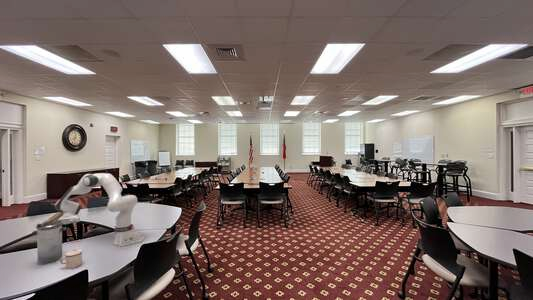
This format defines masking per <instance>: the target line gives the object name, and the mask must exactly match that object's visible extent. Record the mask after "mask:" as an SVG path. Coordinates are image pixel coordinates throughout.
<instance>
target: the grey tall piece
mask: <svg viewBox="0 0 533 300" xmlns="http://www.w3.org/2000/svg"><path fill="white" fill-rule="evenodd" d="M47 220H48V219H46V220H45V221H47ZM45 221H43V222H42V223H37V224H36V226H35V229H36V230H34V231H32V233H31V234H32V235H36V240H37V241H36V243H37V250H36V251H37V265H40V266H43V265H50V264H53V263H56V262H58V261H59V262H60V259H61V258H62V257H63V232H64V231H66V230H67V226H63V225H64V224H63V222H62V221H57V219H55V220H54V221H52V222H51V226H45ZM61 260H62V259H61Z"/></svg>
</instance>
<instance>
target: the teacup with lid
mask: <svg viewBox="0 0 533 300" xmlns="http://www.w3.org/2000/svg"><path fill="white" fill-rule="evenodd" d="M64 255H65V256H62V258H61V259H60V260H59V263H60V265H65V268H66V269H74V268H78V267H80V266H81V265H82V264H83V250H82V249H80V248H79V249H77V248H75V247H74V248H72V250H70V251H68V252H66V253H65V254H64ZM63 259H65V262H63V261H62V260H63Z"/></svg>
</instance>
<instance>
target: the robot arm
mask: <svg viewBox="0 0 533 300" xmlns="http://www.w3.org/2000/svg"><path fill="white" fill-rule="evenodd" d="M99 186H100V187H101V186H102V187H103V189H104V190H105V192H106V193H107V196H108V202H107V206H106V207H107V210H108V211H109V212H110V213H115V212H118V214H117V215H116V216H115V226H114V233H115V234H114V235H115V237H114V241H113V245H114V246H119V247H124V246H128V245H133V244H137V243H138V244H139V243H141V242H143V241H144V240H145V238H144V235H142V234H141V231H140V230H138V229H136V228H135V225H134V224H133V223H131V222H132V214H133V210H134V208H135V206H136V205H137V204H138V197H137V196H136V195H134V194H128V195H124V196H122V192H123V188H122V186H121V184H120V183H119V181H118V180H117V179H116V177H114V175H112V173H108V172H101V173H100V172H99V173H98V172H97V173H93V174H92V173H86V174H84V175H83V176H82V177H81V178H80V180H79V181H78V183H77V184H76V185H73V186H71V187H70V188H69V189H68V190H67V191H66V192H65V193H64V194H63V195H62V196H61V198H59V199H58V200H57V201H56V203H55V204H54V208H55V210H56V211H58V210H62V211H63V216H61V217H60V218H59V219H58V220H57V221H62V222H63V224H62V225H68V224H72V223H73V224H74V223H79V222H80V221H81V215H80V214H79V213H80V211H81V210H82V209H81V208H82V205H81V203H80V202H76V201H72V200H68V199H69V198H70V196H72V195H86V194H88V193H90V192H91V191H92V189H93V187H99Z"/></svg>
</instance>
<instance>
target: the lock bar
mask: <svg viewBox="0 0 533 300" xmlns="http://www.w3.org/2000/svg"><path fill="white" fill-rule="evenodd" d="M57 211H58V212H56V213H55V214H54V215H52V216H51V217H50V218H48V219H46V220H47V221H46V220H45V221H44V222H45V226H51V222H52V221H54V220H55V219H57V220H58V219H59V218H60V217H61V216H63V214H64V211H62V210H57Z"/></svg>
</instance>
